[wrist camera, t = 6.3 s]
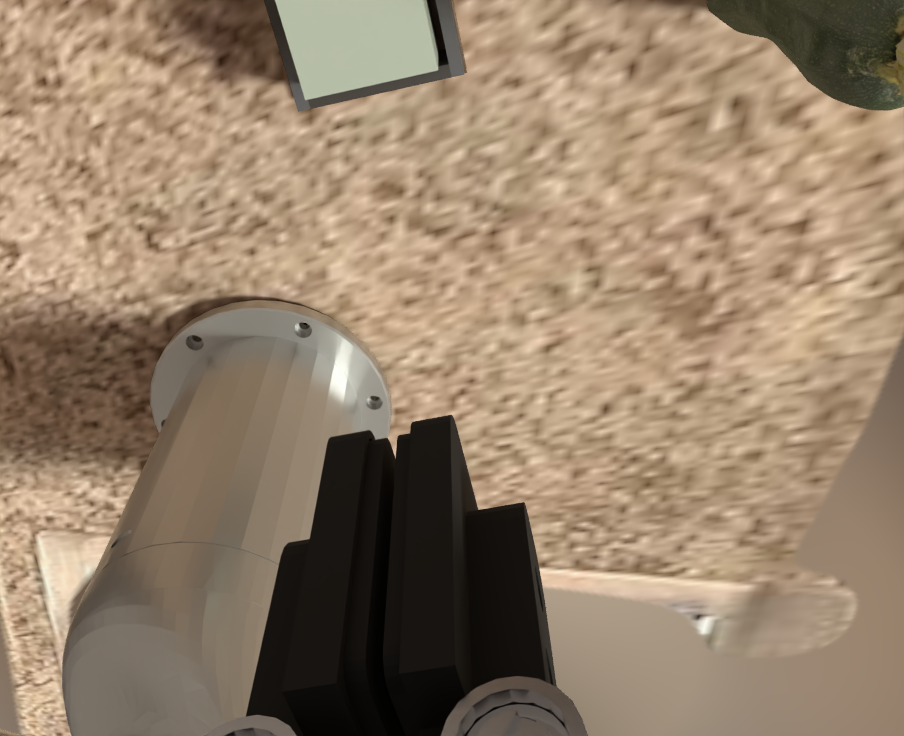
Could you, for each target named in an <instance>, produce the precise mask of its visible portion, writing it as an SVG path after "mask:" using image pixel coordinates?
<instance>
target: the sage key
mask: <svg viewBox="0 0 904 736" xmlns="http://www.w3.org/2000/svg"><path fill="white" fill-rule="evenodd" d="M275 2H276V5H277V8H278V12H279V15H280V18H281V22H282V25H283V28H284V31H285V35H286V38H287V41H288V45H289V48H290V51H291V55H292V58H293V61H294V65H295V68H296V71H297V74H298V78H299V81H300V84H301V88H302V91H303V94H304V98H305V100H309V99H313V98H318V97H322V96H326V95H331V94H335V93H340V92H344V91H349V90H353V89H358V88H362V87H366V86H371V85H375V84H380V83H384V82H389V81H393V80H398V79H402V78H406V77H411V76H415V75H420V74H424V73H429V72H433V71H437V70H438V44H437V39H436V34H435V29H434V25H433V20H432V15H431V11H430V6H429V1H428V0H275Z"/></svg>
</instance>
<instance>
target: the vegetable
mask: <svg viewBox="0 0 904 736" xmlns="http://www.w3.org/2000/svg"><path fill="white" fill-rule="evenodd" d="M707 6H708V9H709V11H710V12H711V13H713V14H714V15H715V16H716V17H718V18H719V19H720V20H722V21H723V22H724V23H726V24H727V25H728V26H730V27H731V28H733V29H734V30H736V31H738V32H741V33H745V34H749V35H754V36H759V37H764V38H768V39H770V40H771V41H773V42H774V43H775V44H776V45H777V46H778V47H779V48H780V50H781V51H782V52H783V53H784V54H785V55H786V56H787V57H788V58H789V59H790V60H791V61H792V62H793V63H794V64H795V65H796V67H797V68H798V69H799V71H800V72H801V73H802V74H803V76H804V77H805V78H806V79H807V81H808V82H810V83H811V84H812V85H814V86H815V87H816V88H818V89H819V90H821V91H822V92H823V93H825V94H827V95H828V96H830V97H832V98H833V99H836V100H838V101H841V102H844V103H846V104H849V105H852V106H856V107H860V108H864V109H869V110H893V109H897V108H901V107H904V0H707Z"/></svg>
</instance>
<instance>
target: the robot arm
mask: <svg viewBox="0 0 904 736" xmlns="http://www.w3.org/2000/svg"><path fill="white" fill-rule="evenodd" d="M301 322H302V323H307V324H308V325H303V324H302V323H301ZM195 335H196V336H195ZM197 336H198V337H197ZM150 406H151V410H152V415H153V420H154V423H155V425H156V428H157V430H158V432H159V436H158V438H157V440H156V442H155V444H154V447H153V449H152V451H151V453H150V455H149V457H148V459H147V462H146V464H145V466H144V468H143V470H142V472H141V474H140V477H139V479H138V481H137V483H136V485H135V487H134V489H133V492H132V494H131V496H130V498H129V500H128V502H127V504H126V507H125V509H124V511H123V513H122V515H121V517H120V519H119V522H118V524H117V526H116V528H115V530H114V532H113V534H112V537H111V539H110V541H109V543H108V545H107V547H106V549H105V552H104V554H103V556H102V558H101V560H100V562H99V564H98V567H97V569H96V571H95V573H94V575H93V577H92V579H91V581H90V584H89V585H88V587H87V589H86V591H85V593H84V595H83V597H82V599H81V602H80V604H79V606H78V608H77V610H76V612H75V615H74V617H73V620H72V622H71V625H70V627H69V631H68V634H67V638H66V642H65V648H64V654H63V662H62V689H63V698H64V704H65V710H66V716H67V721H68V725H69V728H70V732H71V735H72V736H588V734H587V732H586V729H585V726H584V723H583V720H582V718H581V716H580V714H579V712H578V710H577V708H576V707H575V705H574V703H573V701H572V700H571V699H570V698H569V697H568V696H567V695H565V694H564V693H563V692H562V691H561V690H560V689H559V688H558V687H557V686H556V680H555V673H554V665H553V657H552V651H551V643H550V636H549V629H548V622H547V615H546V607H545V600H544V594H543V588H542V582H541V576H540V570H539V565H538V560H537V555H536V550H535V545H534V540H533V536H532V531H531V527H530V522H529V518H528V513H527V509H526V506H525V503H524V502H523V503H517V504H511V505H505V506H500V507H494V508H488V509H482V510H478V507H477V503H476V500H475V496H474V492H473V488H472V484H471V480H470V477H469V473H468V469H467V465H466V461H465V458H464V454H463V450H462V446H461V442H460V438H459V435H458V431H457V427H456V424H455V420H454V418H453V416H452V415H448V416H443V417H437V418H432V419H426V420H421V421H415V422H412V423H411V431H410V434H404V435H399V436H398V439H397V451H396V459H395V456H394V453H393V450H392V447H391V444H390V442H389V440H388V435H389V431H390V422H391V394H390V390H389V386H388V383H387V379H386V376H385V374H384V372H383V370H382V368H381V366H380V364H379V362H378V360H377V359H376V357H375V356H374V355H373V354H372V352H371V351H370V350H369V348H368V347H367V346H366V345H365V343H364V342H363V341H361V340H360V339H359V338H358V337H357V336H356V335H355V334H353V333H352V332H351V331H350V330H349V329H348V328H347V327H345V326H343V325H342V324H340V323H338V322H337V321H335V320H333V319H332V318H330V317H328V316H327V315H324V314H322V313H319V312H317V311H314V310H312V309H309V308H307V307H304V306H300V305H295V304H290V303H286V302H281V301H265V300H252V301H244V302H235V303H230V304H227V305H224V306H221V307H217V308H214V309H211V310H209V311H207V312H205V313H203V314H202V315H200V316H198V317H196V318H194V319H192V320H191V321H190V322H189V323H187V324H186V325H185V326H184V327H183V328H181V329H180V330H179V331H178V332H177V333H176V334H175V335H174V336H173V338H172V339H171V341H170V342H169V343H168V345H167V346H166V347H165V349H164V350H163V352H162V354H161V357H160V359H159V360H158V362H157V364H156V366H155V370H154V373H153V377H152V380H151V384H150ZM0 736H25V735H21V734H17V733H12V732H9V731H5V730H1V729H0Z"/></svg>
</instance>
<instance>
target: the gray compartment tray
mask: <svg viewBox="0 0 904 736" xmlns="http://www.w3.org/2000/svg"><path fill="white" fill-rule="evenodd" d="M428 1H429V6H430V11H431V15H432V20H433V25H434V29H435V34H436V39H437V44H438V70H437V71H433V72H429V73H424V74H420V75H415V76H411V77H406V78H402V79H398V80H393V81H389V82H384V83H380V84H375V85H371V86H366V87H362V88H358V89H353V90H349V91H344V92H340V93H335V94H331V95H326V96H322V97H318V98H313V99H309V100H305V98H304V94H303V91H302V88H301V84H300V81H299V78H298V74H297V71H296V68H295V65H294V61H293V58H292V55H291V51H290V48H289V45H288V41H287V38H286V35H285V31H284V28H283V25H282V22H281V18H280V15H279V12H278V8H277V5H276V2H275V0H264V2H265V5H266V8H267V12H268V15H269V18H270V21H271V25H272V28H273V31H274V34H275V38H276V41H277V44H278V47H279V51H280V54H281V57H282V60H283V63H284V67H285V70H286V73H287V76H288V80H289V83H290V86H291V89H292V93H293V96H294V99H295V102H296V106H297V109H298V112H299V111H303V110H308V109H312V108H317V107H321V106H325V105H330V104H334V103H339V102H343V101H348V100H352V99H357V98H361V97H366V96H370V95H375V94H379V93H384V92H388V91H392V90H397V89H401V88H406V87H410V86H415V85H419V84H424V83H428V82H433V81H437V80H442V79H446V78H450V77H455V76H459V75H464V73H467V71H466V64H465V59H464V54H463V49H462V44H461V39H460V34H459V29H458V24H457V19H456V14H455V9H454V4H453V0H428Z"/></svg>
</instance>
